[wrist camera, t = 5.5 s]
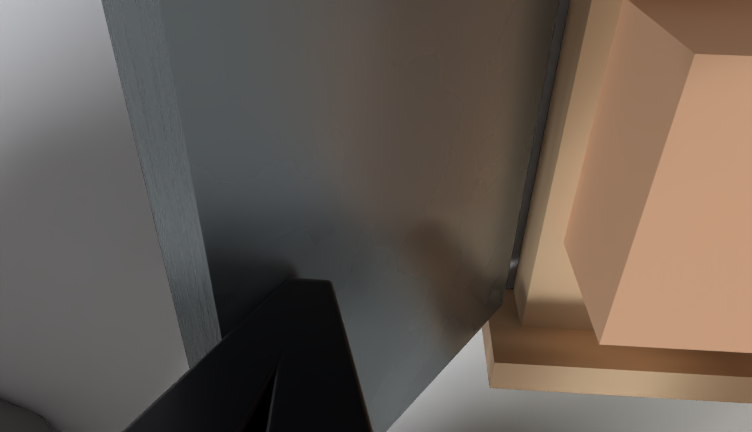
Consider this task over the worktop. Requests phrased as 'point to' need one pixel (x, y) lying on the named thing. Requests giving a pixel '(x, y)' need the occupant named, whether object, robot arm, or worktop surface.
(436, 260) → the tailgate
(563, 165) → the square wooden tray
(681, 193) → the block
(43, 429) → the liquor
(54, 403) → the worktop surface
